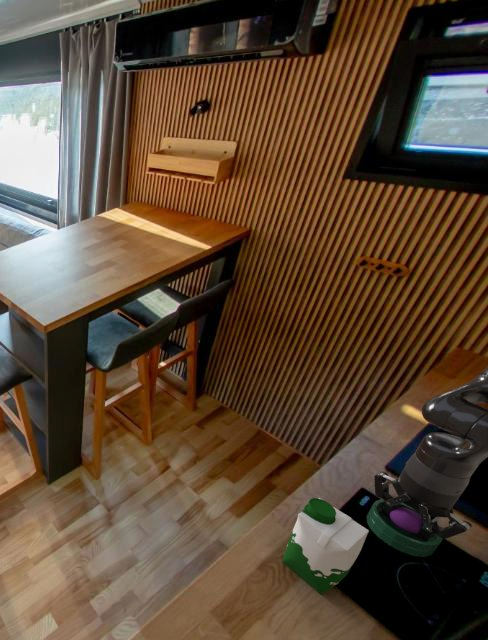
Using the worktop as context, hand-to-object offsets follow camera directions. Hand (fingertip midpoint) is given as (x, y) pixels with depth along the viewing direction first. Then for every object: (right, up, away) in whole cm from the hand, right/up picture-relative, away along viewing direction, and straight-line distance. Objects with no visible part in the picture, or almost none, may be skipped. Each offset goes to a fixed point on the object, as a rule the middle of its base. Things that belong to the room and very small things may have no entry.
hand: (403, 525), depth 82 cm
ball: (0, +2, -1) cm, 2 cm away
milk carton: (-23, -9, -1) cm, 25 cm away
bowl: (+1, -3, +2) cm, 4 cm away
